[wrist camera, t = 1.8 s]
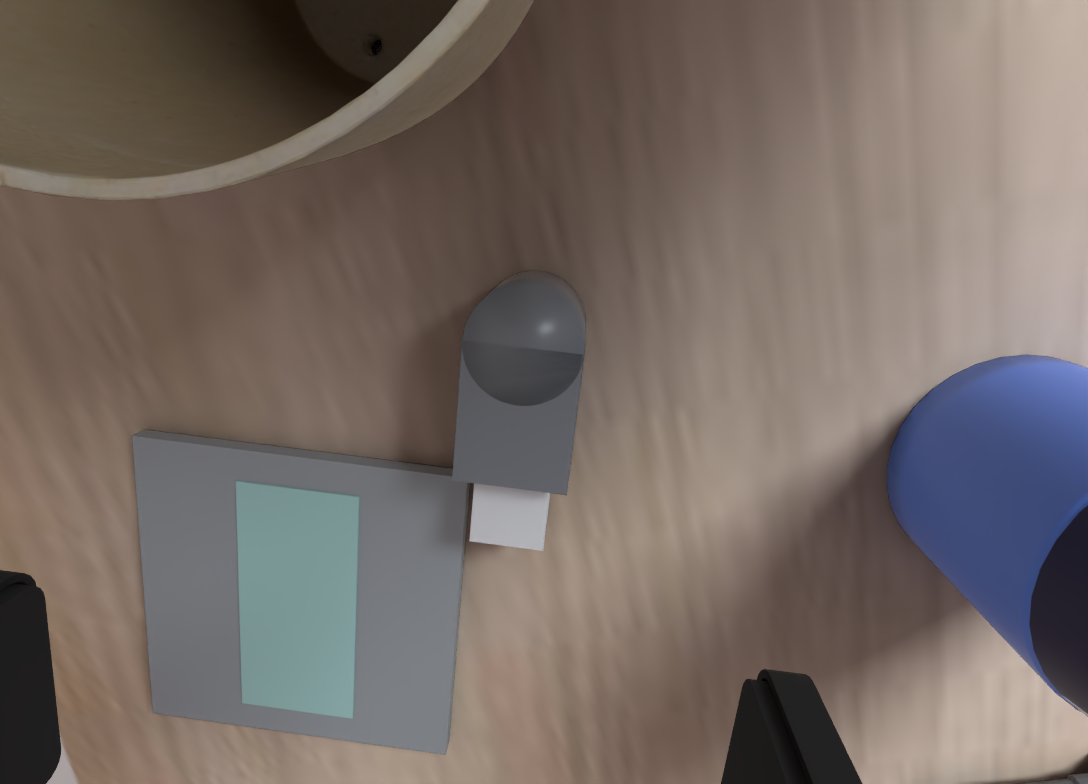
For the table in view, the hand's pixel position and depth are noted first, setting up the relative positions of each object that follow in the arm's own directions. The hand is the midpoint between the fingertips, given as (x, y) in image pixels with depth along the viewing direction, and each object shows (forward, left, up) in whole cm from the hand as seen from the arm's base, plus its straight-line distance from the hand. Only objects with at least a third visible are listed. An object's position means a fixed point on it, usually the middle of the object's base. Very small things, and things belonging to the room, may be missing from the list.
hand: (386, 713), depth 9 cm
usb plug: (0, +1, -18) cm, 18 cm away
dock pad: (+9, +12, -18) cm, 23 cm away
